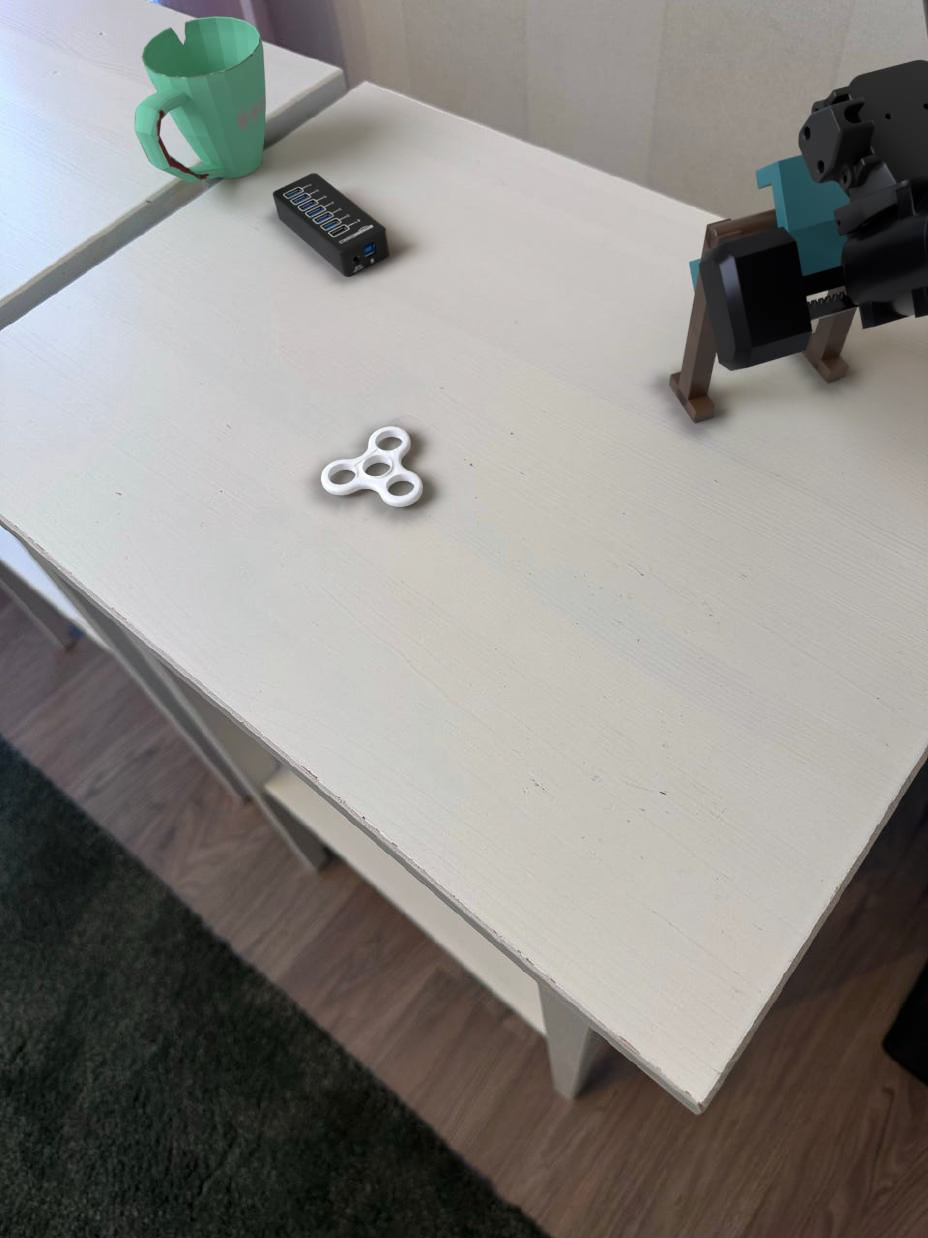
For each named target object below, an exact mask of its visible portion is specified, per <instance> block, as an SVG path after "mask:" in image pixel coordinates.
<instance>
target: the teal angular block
mask: <svg viewBox="0 0 928 1238" xmlns="http://www.w3.org/2000/svg"><path fill="white" fill-rule="evenodd" d="M755 179H756V185H757V189H758V190H761V189H764V188H769V187H771V191H772V195H773V196H772V198H773V203H774V204H773V205H774V208H775V211H776V217H777V224H778V228H779V227H784V228H785V229H786V230H787V231H788V232H789V233H790V235H791V236H792V237H793V238H794V239H795V240H796V242H797V247H798V253H799V258H800V264H801V269H802V275H803V276H806V275H809V274H813V273H816V272H820V271H823V270H827V269H830V268H834V267H837V266H841V253H842V248H843V245H844V243H845V242H846V241H847V235H843V236H839V235H838V234H837V229H836V223H835V217H834V211H833V210H835V209H837V208H840V207H842V206H844V205H846V204H849V203H850V201H849V197H848V196H847V195H846V194H845V192H844V190H843V189H841V187H840V185H839V184H838V183H837V182H834V181H829V182H825V183H822V184H819V183H816V182H814V181H813V180H812V178H811V175H810V173H809V170H808V168H807V165H806V163H805V160H804V158H803V156H802V153H801V154H797V155H795V156H789V157H786V158H782V159H779V160H776V161H774V162H772V163H770V164H768V165H766V166H763V167H761V168H759V169H757V170H755ZM700 261H701V257H700V258H697V259H694V260H691V261H688V265H689V270H690V275H691V281H692V287H693V292H694V293H693V294H695V289H696V283H697V278H698V272H699V263H700Z"/></svg>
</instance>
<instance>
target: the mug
mask: <svg viewBox="0 0 928 1238" xmlns="http://www.w3.org/2000/svg"><path fill="white" fill-rule="evenodd" d="M257 28H258V27H257V26H254V25H253V24H252V23H250V22H248V21H246V20H244V19H240V18H236V17H232V16H216V15H215V16H207V17H198V18H194V19H190V20H186V21H185V23H184V36H185V38H184V41H183V43H182V41H181V39H180V38H179V36H178V34H177V33H176V32H175V30H173V28H172V27H171V26H170V27H167V28H165V29H163V30H162V31H160V32H158V33H157V34H156V35H155V36H153V37H151V39H150V40H149V41H148V42H147V44H145V46H144V47H143V50H142V54H141V61H142V64H143V67H144V69H145V71H146V73H147V75H148V78H149V80H150V82H151V84H152V85H153V87H154V88H155V91H156V92H154V93H153V94H150V95H148V96H147V97H146V98H144V99H143V100H142V102H140V103H139V104H138V105H137V106H136V107H135V109H134V125H133V126H134V132H135V135H136V137H137V139H138V140H139V143H140V145H141V147H142V149H143V152H144V153H145V156H146V158H147V160H148V162H149V163H150V164H151V165H152V166H154V167H155V168H156V169H158V170H160V171H163V172H165V173H167V174H169V175H171V176H174V177H177V178H178V179H180V180H183V181H185V182H187V183H191V184H195V183H196V184H197V183H200V182H204V181H208V180H212V179H216V178H220V179H227V180H230V179H231V180H233V179H240V178H243V177H246V176H249V175H250V174H252V173H254V172H255V171H257V170H258V169H259V168H260V166H261V164H262V163H263V162H262V161H263V152H264V144H265V136H266V135H265V133H266V114H267V94H266V93H267V91H266V71H265V55H264V53H265V52H264V45H263V40H262V35H261V34H260V32H259V30H258V29H257ZM168 114H170V116H171V118H172V120H173V122H174V123H175V125H176V127H177V128H178V130H179V132H180V133H181V134H182V137H184V139H185V140H186V142H187V143H188V144H189V146H190V147H191V149H192V150H193V152H194V153H195V154H196V155H197V157H198V158H199V159H200V160H201V162H202V163H203V164H199V165H198V164H197V165H194V166H193V165H192V166H189V167H188V166H186V165H184V164H183V163H181V162H180V161H179V160H177V159H176V158H175V157H174V156H172V155H171V154H170V153H169V152H168V150H167V148H166V146H165V144H164V141H163V139H162V137H161V126H162V120H163V119H164V118H165V117H166V116H167V115H168Z"/></svg>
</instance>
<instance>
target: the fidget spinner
mask: <svg viewBox="0 0 928 1238" xmlns="http://www.w3.org/2000/svg"><path fill="white" fill-rule="evenodd" d="M387 438H397V439H399V440H400V441H401V443H400V445H399V446H398V447H396V448H394V449H391V450H385V449H381V448H380V447H378V445H379V443H380V442H381V441H382V440H384V439H387ZM411 445H412V441H411V437H410V435H409V433H408V432H407V431H406V430H405V429H403V428H402V427H398V426H394V425H393V426H391V425H390V426H389V425H388V426H384V427H381V428H379V429H377V430H375V431H374V432H373V433H372V435H371V436H370V437H369V439H368V446H367V449H366V450H365V452H364V453H363V454H362V455H360V456H358V457H356V458H355V457H354V458H350V459H348V458H347V459H345V458H343V459H337V460H334V461H332V462H330V463H329V464H328V465H326V466H325V468H324V469H323V470H322V472H321V476H320V481H321V484H322V487H323V489H325V490H326V491H327V492H328V493H329V494H331V495H334V496H347V495H351V494H353V493H355V492H358V491H360V490H372V491H374V492H376V493H377V494H379V496H380V497H381V499H382V501H383V502H384V503H385V504H387V505H389V506H392V507H395V508H403V507H404V508H405V507H407V506H411V505H413V504H414V503H416V502H417V501H419V499H420V498H421V496H422V494H423V491H424V485H423V481H422V478H421V477H420V476H419V475H418V474H417V473H415V472H414V471H410V470H409V469H407V468H405V467H404V466H403V464H402V461H403V458H404V457H405V456H406V455H407V454H408V452H409V450H410V449H411ZM374 464H375V465H376V464H385V465H388V467H389V469H388V470H387V471H386V472H385V473H384V474H381V475H377V476H376V475H371V474H368V473H366V472H367V470H368V468H370V467H371V466H372V465H374ZM340 471H350V472H353V473H354V474H355V476H354V477H353V479H352V480H350V481H349V482H347V483H344V484H337V483H333V482H332V481H331V478H332V476H334V474H336V473H337V472H340ZM398 482H409V483H411V484H412V485H413V489H412V490H411V491H410V492H409V493H407V494H404V495H394V494H392V493H390V492H389V488H390V487H391V486H392V485H394V484H395V483H398Z"/></svg>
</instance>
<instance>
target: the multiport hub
mask: <svg viewBox="0 0 928 1238" xmlns="http://www.w3.org/2000/svg"><path fill="white" fill-rule="evenodd" d="M272 197H273V201H274V205H275V208H276V212H277V217H278V219H279V221H280V222H282V223H283V224H284V225H285V226H286V227H288V229H290V231H292V232H293V233H294V234H296V235H297V236H298V237H299V238H300V239H301V240H303V242H304V243H306V244H307V245H308V246H309V247H310V248H312V249H313V250H314V251H315V252H316V253H317V254H319V255H320V257H322V258H323V259H324V260H326V261H327V263H329V264H330V265H331V266H332V267H333V268H334V269H336V270H337V271H338V272H339V273H340V274H341V275H343V276H344V277H352V276H354V275H355V274H357V273H359V272H362V271H363V270H365V269H367V268H369V267H371V266H373V265H374V264H376V263H378V262H380V261H382V260H384V259H386V258H388V257H389V256H390V250H389V249H390V248H389V243H388V242H389V240H388V236H387V235H388V234H387V228H386V227H385V226H383V225H382V224H381V223H380V222H379V221H377V220H376V219H375V218H373V217H372V216H371V215H370V214H368V213H367V211H365V210H363V209H362V208H361V207H360V206H359V205H357V204H356V203H355V202H354V201H352V200H351V199H350V198H348V197H347V196H346V195H345V194H344V193H342V192H341V191H340V190H339V189H337V188H336V187H334V186H333V184H331V183H330V182H329V181H327V180H326V179H325V178H323V177H322V176H321V175H320V174H319V173H316V172H312V173H309V174H307V175H304V176H303V177H300V178H298V179H297V180H294V181H293V182H290V183H288V184H286V185H284V186H282V187H280V188H277V189H276V190H274V191H273V192H272Z"/></svg>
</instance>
